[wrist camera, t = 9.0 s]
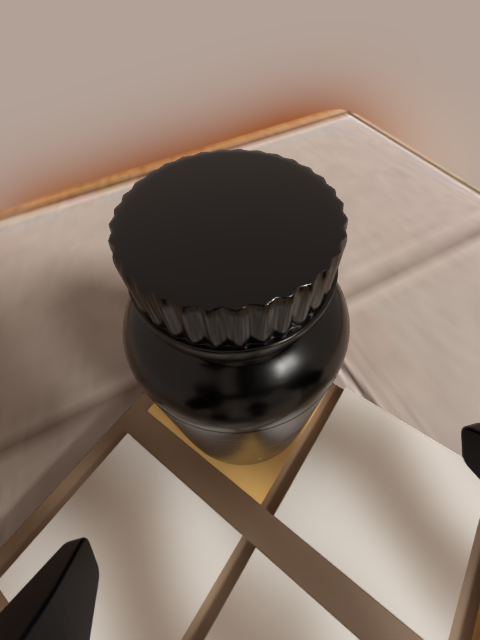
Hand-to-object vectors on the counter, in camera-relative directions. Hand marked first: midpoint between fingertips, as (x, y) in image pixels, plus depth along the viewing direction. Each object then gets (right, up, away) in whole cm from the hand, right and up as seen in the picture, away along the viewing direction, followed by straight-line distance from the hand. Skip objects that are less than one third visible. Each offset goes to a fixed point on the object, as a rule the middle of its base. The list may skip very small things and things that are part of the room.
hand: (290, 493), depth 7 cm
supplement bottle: (-1, 0, +9) cm, 9 cm away
